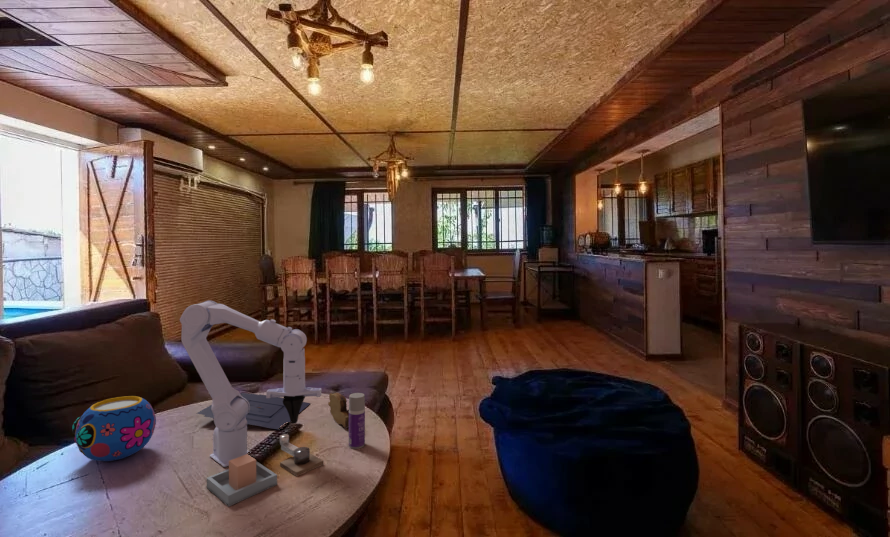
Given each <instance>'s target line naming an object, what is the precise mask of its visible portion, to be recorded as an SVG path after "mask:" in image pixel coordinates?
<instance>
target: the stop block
mask: <svg viewBox="0 0 890 537" xmlns="http://www.w3.org/2000/svg"><path fill="white" fill-rule="evenodd" d="M256 461H257V458H256V459H255V457H254V456H253V457H251V456H250V455H248V454H246V455H243V456H241V457H238V458H235V459H232V460H230V461H229V466H228V469H229V485H230V486H231V487H232V488H233V489H235V490H238V489H241V488H243V487H245V486H248V485H250V484H252V483H255V482H256Z"/></svg>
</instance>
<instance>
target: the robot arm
mask: <svg viewBox="0 0 890 537" xmlns="http://www.w3.org/2000/svg"><path fill="white" fill-rule="evenodd" d="M179 322H180V324H181V341H180V342H181V344H182V346H183V347H184V350H185V352H186V353H187V355H188V357H189V358H190V360H191V362H192V364H193V366H194V368H195V369H196V372H197V373H198V375H199V377H200V379H201V381H202V382H203V384H204V386H205V388H206V390H207V392H208V394H209V395H210V397H211V399H212V402H211V405H212V408H211V410H212V412H213V414H214V419H213V423H214V425H215V428H214V430H213V433H212V453H211V454H209V458H211V459H212V460H214V461H215V462H216V463H218V464H219V465H221V467H224V468H227V467H229V461H230V460H232V459H235V458H238V457H241V456H243V455H246V454H247V453H248V452H250V450H248V424H247V420H246V415H247V414H248V412H249V410H250V405H249V402H248V401H247V400H246V399H245V398H243V397H242V396H241V393H240V391H239V390H238V389H235V388H233V386H232V384H231V383H230V381H229V379H228V377H227V375H226V373H225V372H224V369H223V367H222V366H221V364H220V362H219V361H218V359H217V358H218V357H217V356H216V354H215V353H214V351H213V349H212V347H211V345H210V344H209V342H208V340H207V338H208V335H209V333H210V331H211V329H212V327H213V326H214V325H219V324H224V323H225V324H229V325H231V326H233V327H237V328H240V329H243V330H246V331H249V332H250V333H251V332H252V333H253V334H254V335H255V337H256V339H257V340H259V341H262V342H265V343H267V344H269V345H273V346H275V347H277V348H280V350H281V351H282V352H283V362H282V363H283V365H282V366H283V374H282V376H283V377H282V378H283V386H282V387H279V388H269V389H267V390H266V394H265V395H266V398H271V397H280V398H284V399H283V404H284V406H285V407H286V409H287V411H288V414H289V417H290V421H291V422H290V424H292V425H293V424H297V423H298V420H299V415H300V413H299V411H300V408H301V405H302V403H303V402H305V401H304V400H305V398H306V397H316V398H320V397H321V396H322V387H308V386H306V356H305V354H306V353H305V352H306V351H305V346H306V345H307V341H308V338H307V335H306V334H305V332H304V331H302V330H300V329H298V328H295V329H293V327H291V326H287V327H286V326H284V325H281V324H279V323H276V322H277V320H275V319H273V318H271V319H270V320H269V319H265V320H262V321H260V320H258V319H255V318H254V317H251V316H249V315H247V314H244V313H242V312H240V311H238V310H236V309H233V308H231V307H230V306H227V305H226V304H223V303H217V302H216V301H214V300H205V301H203V302H199V303H196V304H191V305H189V306H187V307H186V308H185V309H184V311H183V312H182V314H181V315H180V318H179Z"/></svg>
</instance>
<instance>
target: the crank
mask: <svg viewBox="0 0 890 537" xmlns="http://www.w3.org/2000/svg"><path fill="white" fill-rule="evenodd" d="M279 445H280V449H281V451H283V452H285V453H286V454H289V455H290V456H292V457H293V456H294V463H296V464H304V463H307V462H308V461H309V460H310V454H311V453H310V451H311V450H310V448H309V447H307V446H302V447H298V446H296V445H294V444H293V443H291V442H290V434H286V433H284V434H281V435H279Z"/></svg>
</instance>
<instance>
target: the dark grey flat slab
mask: <svg viewBox="0 0 890 537" xmlns="http://www.w3.org/2000/svg"><path fill="white" fill-rule="evenodd" d="M240 394H241V396H242V397H243V398H245V399H246V400H247V401H248V402H249V405H250V410H249V412H248V414H247V415H246V420H247V425H250V426H251V425H252V426H258V427H261V428H268V429H274V430H279V429H278V428H280V426H281V425H283V424H284V423H286V422H290V423H291V421H290V417H289V414H288V411H287V409H286V407H285V406H284V404H283V399H284V397H271V398H266V394H261V393H260V394H259V393H257V394H256V393H247V392H241V393H240ZM309 405H311V403H310V402H306V401H303V403H302V405H301V408H300V411H299V414H300V413H301V412H302V411H303V410H305V409H306V408H307V407H308V406H309ZM211 408H212V404H210V405H208V406H207V407H205V408H203V409H201V410H200V411H198V412H196V413H195V414H197V415H203V417H205V418H210V419H213V420H214V414H213V412H212V410H211Z"/></svg>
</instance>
